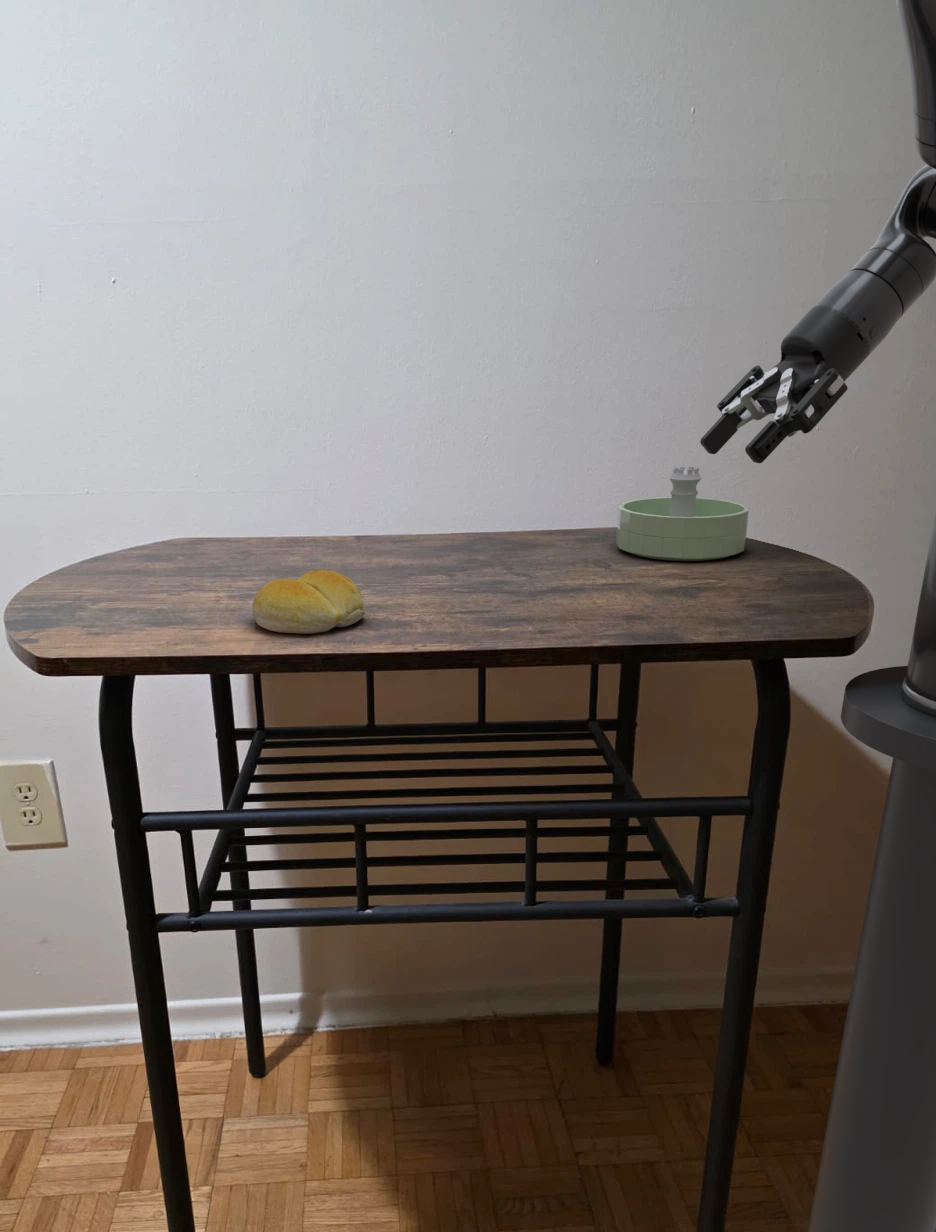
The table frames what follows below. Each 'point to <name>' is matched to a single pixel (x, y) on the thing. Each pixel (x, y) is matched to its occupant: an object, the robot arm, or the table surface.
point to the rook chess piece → (684, 491)
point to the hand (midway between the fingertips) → (728, 453)
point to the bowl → (682, 529)
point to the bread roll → (308, 603)
